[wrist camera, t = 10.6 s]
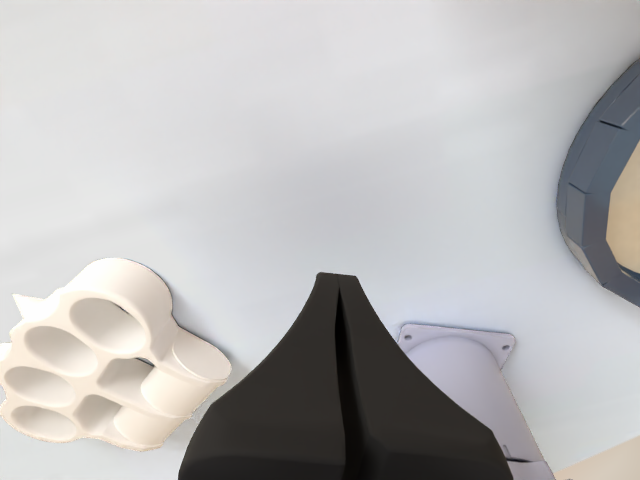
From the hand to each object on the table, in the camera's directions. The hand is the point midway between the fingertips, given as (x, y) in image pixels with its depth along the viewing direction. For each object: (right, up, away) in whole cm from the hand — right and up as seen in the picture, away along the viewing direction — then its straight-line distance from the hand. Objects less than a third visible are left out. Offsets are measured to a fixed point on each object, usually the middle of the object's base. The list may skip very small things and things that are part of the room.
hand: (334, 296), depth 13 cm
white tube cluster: (-16, -7, +15) cm, 23 cm away
